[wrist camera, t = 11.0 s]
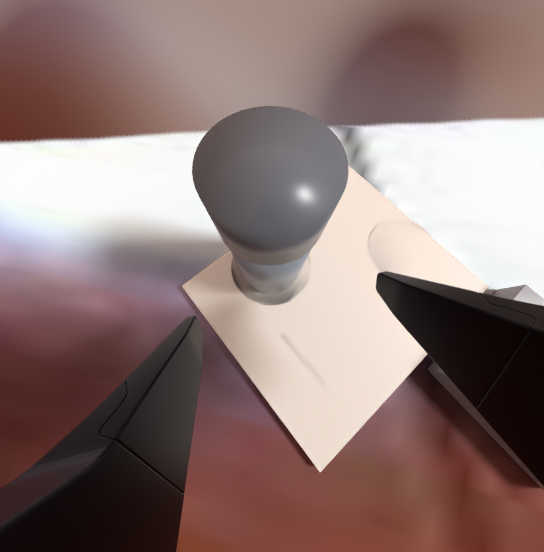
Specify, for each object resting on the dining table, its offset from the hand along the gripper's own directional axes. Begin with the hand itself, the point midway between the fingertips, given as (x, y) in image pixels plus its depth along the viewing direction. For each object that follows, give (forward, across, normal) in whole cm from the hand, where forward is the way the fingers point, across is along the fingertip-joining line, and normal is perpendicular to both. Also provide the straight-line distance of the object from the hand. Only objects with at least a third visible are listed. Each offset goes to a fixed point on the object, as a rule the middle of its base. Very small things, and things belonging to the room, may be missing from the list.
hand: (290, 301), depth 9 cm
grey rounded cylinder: (+8, 0, +2) cm, 8 cm away
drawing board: (+6, -5, +4) cm, 9 cm away
